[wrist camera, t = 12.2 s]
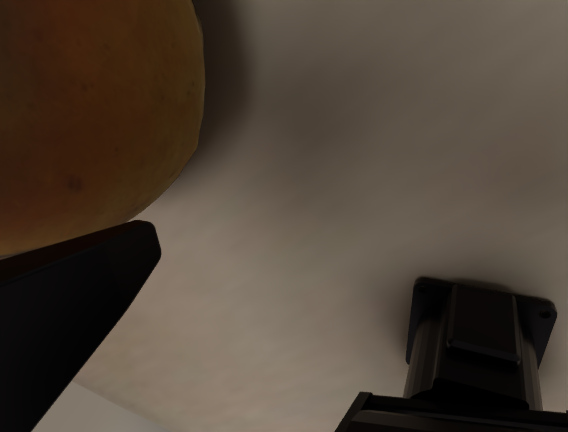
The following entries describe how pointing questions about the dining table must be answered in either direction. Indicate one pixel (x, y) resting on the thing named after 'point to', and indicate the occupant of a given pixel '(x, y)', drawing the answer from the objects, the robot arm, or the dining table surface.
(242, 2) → the dining table surface
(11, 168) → the ceramic pitcher
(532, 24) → the dining table surface
